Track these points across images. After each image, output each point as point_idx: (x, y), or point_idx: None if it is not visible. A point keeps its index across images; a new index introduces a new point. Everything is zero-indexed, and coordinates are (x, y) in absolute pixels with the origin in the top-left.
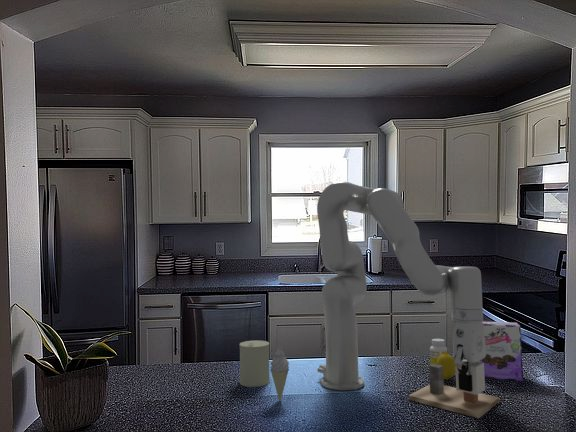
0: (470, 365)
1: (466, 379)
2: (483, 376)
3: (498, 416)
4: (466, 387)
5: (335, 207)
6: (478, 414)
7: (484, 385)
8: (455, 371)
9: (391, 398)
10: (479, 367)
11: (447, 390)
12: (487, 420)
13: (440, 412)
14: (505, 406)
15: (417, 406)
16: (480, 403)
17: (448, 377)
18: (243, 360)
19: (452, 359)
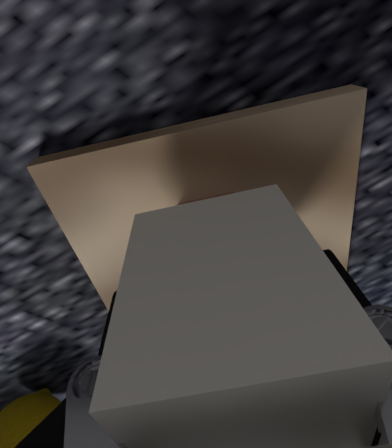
0: (389, 412)
1: (360, 290)
2: (144, 275)
3: (243, 25)
4: (329, 250)
5: None
6: (363, 87)
7: (140, 229)
8: (5, 414)
9: None
10: (258, 355)
11: None
12: (351, 31)
13: (381, 228)
14: (58, 99)
15: (369, 298)
16: (211, 170)
17: (47, 395)
18: None
19: None
